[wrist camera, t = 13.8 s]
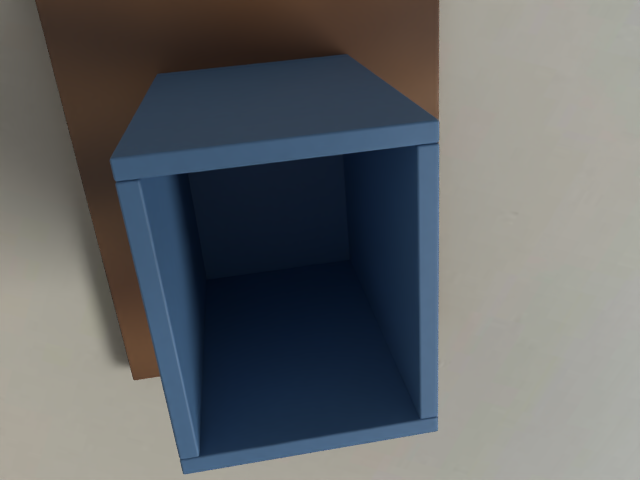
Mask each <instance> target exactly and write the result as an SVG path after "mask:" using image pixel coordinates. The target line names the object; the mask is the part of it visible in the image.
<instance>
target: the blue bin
mask: <svg viewBox="0 0 640 480" xmlns="http://www.w3.org/2000/svg"><path fill="white" fill-rule="evenodd" d="M437 142H439V120H438V119H437V118H435V117H434V116H432V115H431V114H430V113H428V112H427V111H425V110H424V109H423V108H421V107H420V106H418V105H417V104H416V103H414V102H413V101H412V100H410V99H409V98H407V97H406V96H405V95H403V94H402V93H400V92H399V91H398V90H396V89H395V88H393V87H392V86H391V85H389V84H388V83H387V82H385V81H384V80H382V79H381V78H380V77H378V76H377V75H375V74H374V73H373V72H371V71H370V70H368V69H367V68H366V67H364V66H363V65H362V64H360V63H359V62H357V61H356V60H355V59H353V58H352V57H350V56H349V55H348V54H343V55H334V56H324V57H314V58H305V59H295V60H286V61H276V62H267V63H257V64H247V65H238V66H228V67H219V68H209V69H200V70H190V71H180V72H171V73H161V74H157V75H156V77H155V79H154V81H153V82H152V84H151V86H150V88H149V90H148V91H147V93H146V95H145V97H144V99H143V100H142V102H141V104H140V106H139V107H138V109H137V111H136V113H135V115H134V116H133V118H132V120H131V122H130V124H129V125H128V127H127V129H126V131H125V133H124V134H123V136H122V138H121V140H120V142H119V143H118V145H117V147H116V149H115V150H114V152H113V154H112V156H111V158H110V164H111V169H112V173H113V177H114V180H115V181H116V184H115V185H116V190H117V194H118V198H119V202H120V207H121V211H122V215H123V219H124V224H125V228H126V232H127V237H128V241H129V245H130V249H131V254H132V258H133V262H134V266H135V271H136V275H137V279H138V283H139V288H140V292H141V296H142V300H143V305H144V309H145V313H146V317H147V322H148V326H149V330H150V334H151V339H152V343H153V347H154V351H155V356H156V360H157V364H158V369H159V373H160V377H161V381H162V386H163V390H164V394H165V398H166V403H167V407H168V411H169V415H170V420H171V424H172V428H173V432H174V437H175V441H176V445H177V449H178V454H179V457H180V463H181V467H182V471H183V474H189V473H195V472H201V471H207V470H213V469H219V468H225V467H230V466H236V465H242V464H248V463H254V462H260V461H265V460H271V459H277V458H283V457H289V456H295V455H300V454H306V453H312V452H318V451H324V450H330V449H336V448H341V447H347V446H353V445H359V444H365V443H371V442H376V441H382V440H388V439H394V438H400V437H406V436H411V435H417V434H423V433H429V432H435V431H438V287H439V144H438V143H437Z"/></svg>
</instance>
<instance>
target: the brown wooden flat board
mask: <svg viewBox="0 0 640 480" xmlns="http://www.w3.org/2000/svg"><path fill="white" fill-rule="evenodd" d="M35 1H36V5H37V9H38V13H39V17H40V21H41V25H42V28H43V32H44V36H45V40H46V44H47V48H48V52H49V55H50V59H51V63H52V67H53V71H54V75H55V79H56V82H57V86H58V90H59V94H60V98H61V102H62V106H63V110H64V113H65V117H66V121H67V125H68V129H69V133H70V137H71V140H72V144H73V148H74V152H75V156H76V160H77V164H78V167H79V171H80V175H81V179H82V183H83V187H84V191H85V194H86V198H87V202H88V206H89V210H90V214H91V218H92V222H93V225H94V229H95V233H96V237H97V241H98V245H99V249H100V252H101V256H102V260H103V264H104V268H105V272H106V276H107V279H108V283H109V287H110V291H111V295H112V299H113V303H114V306H115V310H116V314H117V318H118V322H119V326H120V330H121V333H122V337H123V341H124V345H125V349H126V353H127V357H128V361H129V364H130V368H131V372H132V376H133V379H134V380H139V379H146V378H152V377H159V376H160V373H159V369H158V364H157V360H156V356H155V351H154V347H153V343H152V339H151V334H150V330H149V326H148V322H147V317H146V313H145V309H144V305H143V300H142V296H141V292H140V288H139V283H138V279H137V275H136V271H135V266H134V262H133V258H132V254H131V249H130V245H129V241H128V237H127V232H126V228H125V224H124V219H123V215H122V211H121V207H120V202H119V198H118V194H117V190H116V185H115V184H116V181H115V180H114V177H113V173H112V169H111V164H110V158H111V156H112V154H113V152H114V150H115V149H116V147H117V145H118V143H119V142H120V140H121V138H122V136H123V134H124V133H125V131H126V129H127V127H128V125H129V124H130V122H131V120H132V118H133V116H134V115H135V113H136V111H137V109H138V107H139V106H140V104H141V102H142V100H143V99H144V97H145V95H146V93H147V91H148V90H149V88H150V86H151V84H152V82H153V81H154V79H155V77H156V75H157V74H161V73H171V72H180V71H190V70H200V69H209V68H219V67H228V66H238V65H247V64H257V63H267V62H276V61H286V60H295V59H305V58H314V57H324V56H334V55H343V54H348V55H349V56H350V57H352V58H353V59H355V60H356V61H357V62H359V63H360V64H362V65H363V66H364V67H366V68H367V69H368V70H370V71H371V72H373V73H374V74H375V75H377V76H378V77H380V78H381V79H382V80H384V81H385V82H387V83H388V84H389V85H391V86H392V87H393V88H395V89H396V90H398V91H399V92H400V93H402V94H403V95H405V96H406V97H407V98H409V99H410V100H412V101H413V102H414V103H416V104H417V105H418V106H420V107H421V108H423V109H424V110H425V111H427V112H428V113H430V114H431V115H432V116H434V117H435V118H437V119H438V120H439V0H35ZM437 143H438V144H439V142H437Z"/></svg>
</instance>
